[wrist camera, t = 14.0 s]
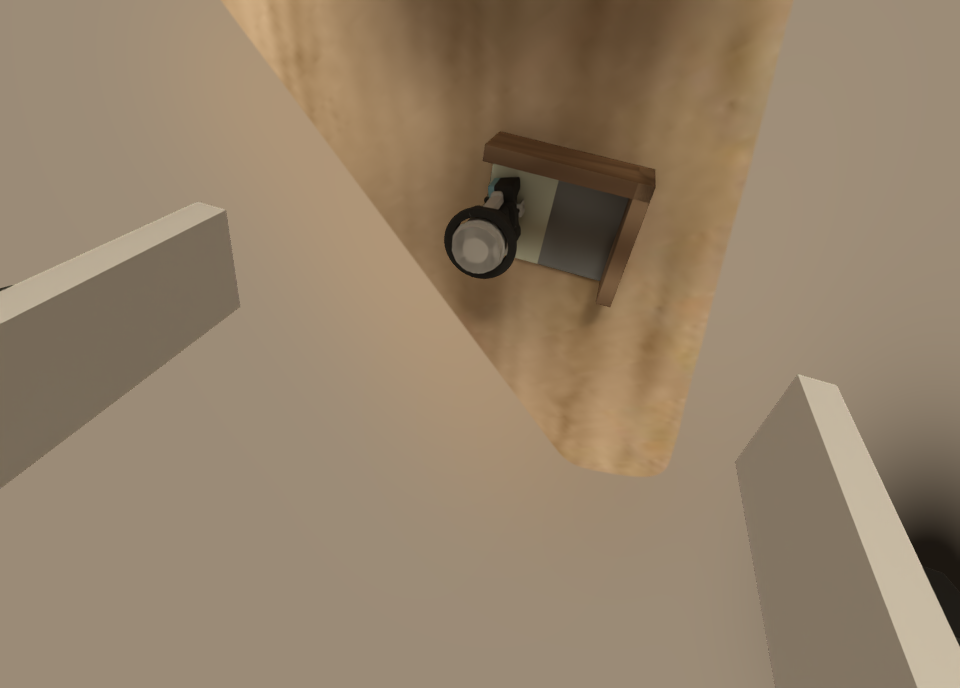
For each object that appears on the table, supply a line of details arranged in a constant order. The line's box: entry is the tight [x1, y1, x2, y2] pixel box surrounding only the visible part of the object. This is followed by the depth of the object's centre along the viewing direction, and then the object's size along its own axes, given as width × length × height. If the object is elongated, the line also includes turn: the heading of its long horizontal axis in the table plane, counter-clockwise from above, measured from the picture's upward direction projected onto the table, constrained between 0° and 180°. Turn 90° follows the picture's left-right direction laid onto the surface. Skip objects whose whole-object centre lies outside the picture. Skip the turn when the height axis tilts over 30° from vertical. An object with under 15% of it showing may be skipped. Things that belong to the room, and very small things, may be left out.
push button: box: [444, 177, 525, 279], centre depth 40 cm, size 7×5×10 cm
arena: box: [483, 132, 655, 307], centre depth 41 cm, size 10×13×4 cm
